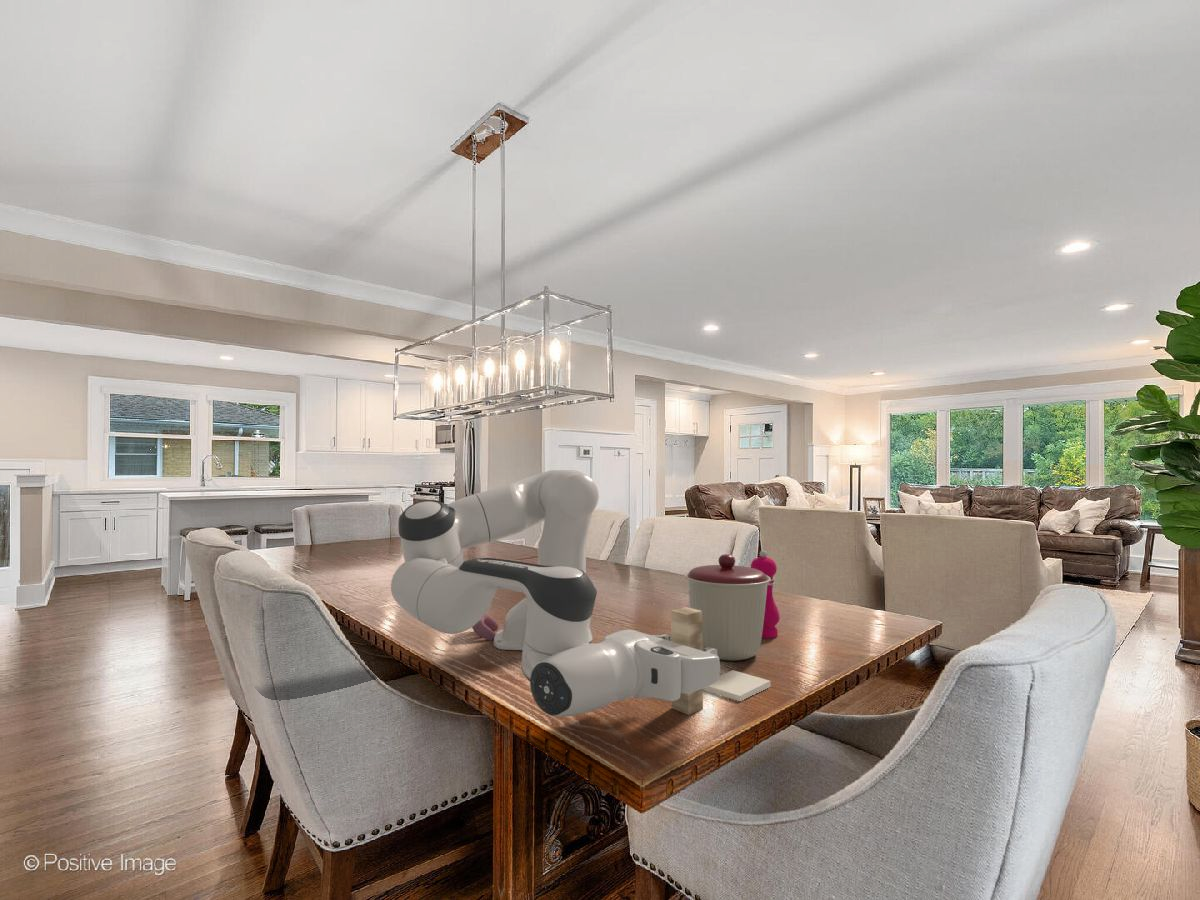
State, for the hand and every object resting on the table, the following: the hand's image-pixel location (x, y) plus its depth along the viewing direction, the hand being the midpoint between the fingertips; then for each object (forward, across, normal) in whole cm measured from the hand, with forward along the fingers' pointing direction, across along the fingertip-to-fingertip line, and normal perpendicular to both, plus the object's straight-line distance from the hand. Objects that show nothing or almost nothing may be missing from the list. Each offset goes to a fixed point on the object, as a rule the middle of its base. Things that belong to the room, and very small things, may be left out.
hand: (691, 646), depth 98 cm
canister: (+28, -13, -10) cm, 32 cm away
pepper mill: (+46, -16, -10) cm, 50 cm away
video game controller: (-4, -59, -10) cm, 60 cm away
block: (-1, 0, -10) cm, 10 cm away
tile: (+8, 0, -11) cm, 13 cm away
